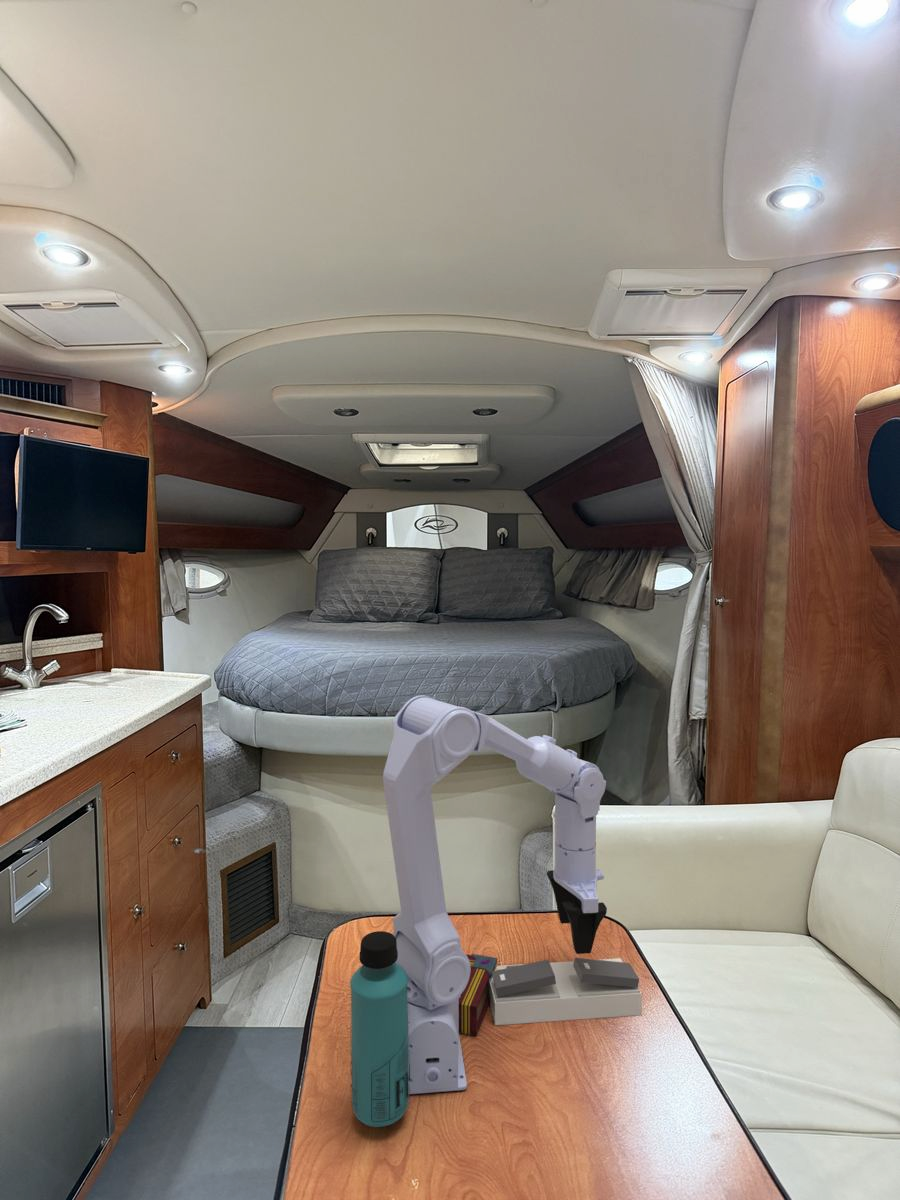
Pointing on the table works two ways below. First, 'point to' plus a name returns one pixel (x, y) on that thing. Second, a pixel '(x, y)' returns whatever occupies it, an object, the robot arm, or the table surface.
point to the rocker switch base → (564, 999)
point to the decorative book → (475, 994)
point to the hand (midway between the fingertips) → (574, 936)
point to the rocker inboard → (523, 977)
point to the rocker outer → (605, 972)
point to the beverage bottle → (379, 1033)
